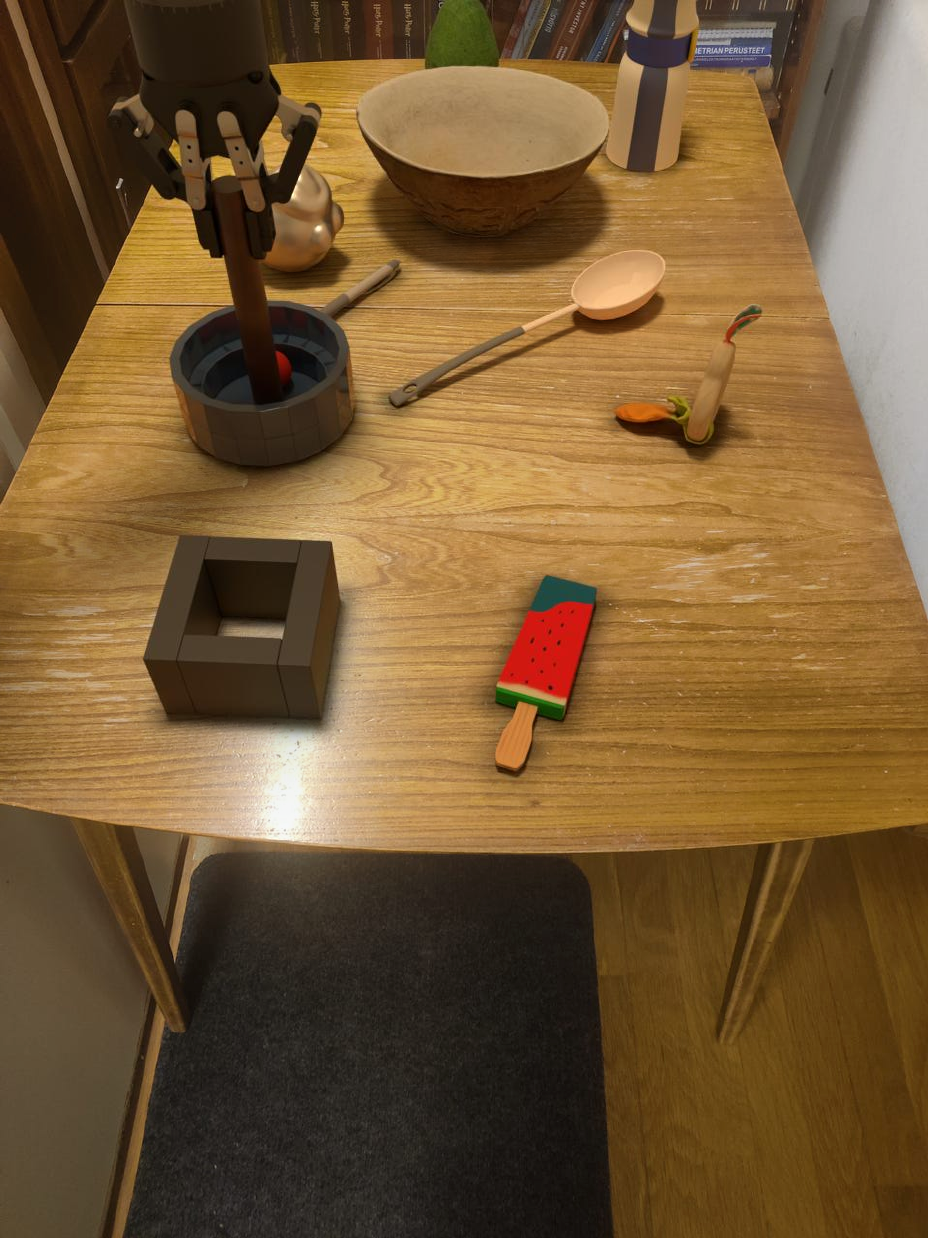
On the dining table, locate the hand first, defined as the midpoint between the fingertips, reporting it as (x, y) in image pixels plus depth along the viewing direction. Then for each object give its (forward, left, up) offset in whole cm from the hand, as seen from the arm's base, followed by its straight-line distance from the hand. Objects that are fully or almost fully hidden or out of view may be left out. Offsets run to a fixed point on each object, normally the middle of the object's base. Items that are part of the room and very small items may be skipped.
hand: (240, 251), depth 69 cm
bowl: (+16, +33, -15) cm, 39 cm away
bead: (0, +3, -13) cm, 13 cm away
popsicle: (+22, -24, -15) cm, 36 cm away
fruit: (+13, +54, -15) cm, 57 cm away
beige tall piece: (+33, +2, -15) cm, 36 cm away
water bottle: (+33, +45, -15) cm, 57 cm away
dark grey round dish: (0, +1, -15) cm, 15 cm away
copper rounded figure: (-1, +22, -15) cm, 26 cm away
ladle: (+21, +11, -15) cm, 28 cm away
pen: (+5, +16, -15) cm, 22 cm away
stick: (0, 0, -13) cm, 13 cm away
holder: (+3, -23, -15) cm, 28 cm away
